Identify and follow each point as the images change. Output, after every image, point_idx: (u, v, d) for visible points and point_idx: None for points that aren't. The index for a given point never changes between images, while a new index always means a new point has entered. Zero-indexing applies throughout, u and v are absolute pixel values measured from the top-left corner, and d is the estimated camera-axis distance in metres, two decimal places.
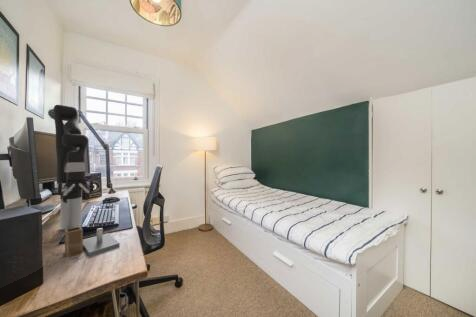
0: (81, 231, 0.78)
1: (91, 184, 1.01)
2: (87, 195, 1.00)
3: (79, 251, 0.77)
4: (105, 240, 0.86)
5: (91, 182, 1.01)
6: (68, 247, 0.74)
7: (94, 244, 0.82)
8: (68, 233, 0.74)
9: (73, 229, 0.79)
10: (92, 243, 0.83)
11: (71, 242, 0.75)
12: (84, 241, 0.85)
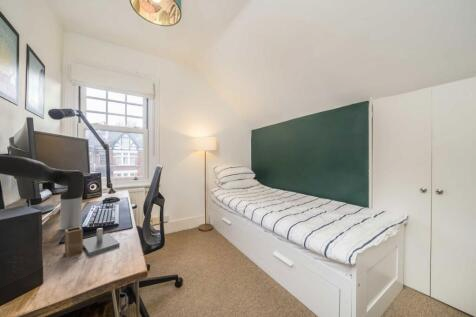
0: (81, 231, 0.78)
1: None
2: None
3: (79, 251, 0.77)
4: (105, 240, 0.86)
5: None
6: (68, 247, 0.74)
7: (94, 244, 0.82)
8: (68, 233, 0.74)
9: (73, 229, 0.79)
10: (92, 243, 0.83)
11: (71, 242, 0.75)
12: (84, 241, 0.85)
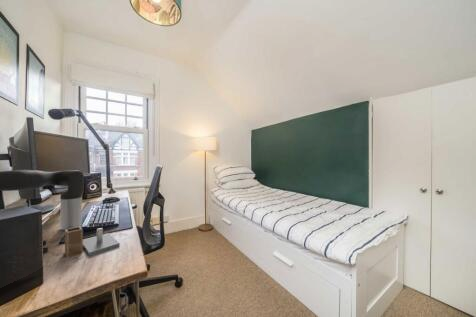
0: (81, 231, 0.78)
1: None
2: None
3: (79, 251, 0.77)
4: (105, 240, 0.86)
5: None
6: (68, 247, 0.74)
7: (94, 244, 0.82)
8: (68, 233, 0.74)
9: (73, 229, 0.79)
10: (92, 243, 0.83)
11: (71, 242, 0.75)
12: (84, 241, 0.85)
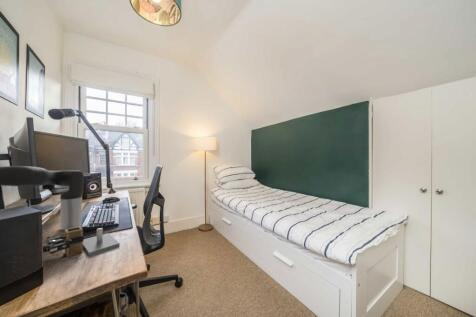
0: (81, 231, 0.78)
1: None
2: None
3: (79, 251, 0.77)
4: (105, 240, 0.86)
5: None
6: None
7: (94, 244, 0.82)
8: (68, 233, 0.74)
9: (73, 229, 0.79)
10: (92, 243, 0.83)
11: None
12: (84, 241, 0.85)
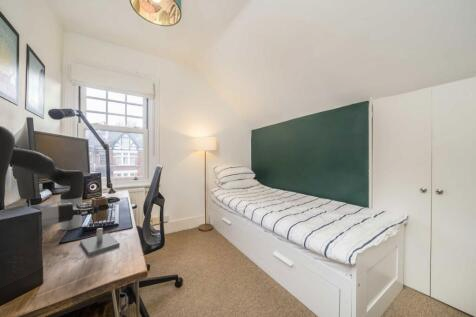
0: (106, 200, 0.84)
1: None
2: None
3: (104, 218, 0.84)
4: (105, 240, 0.86)
5: None
6: (95, 213, 0.81)
7: (94, 244, 0.82)
8: (95, 200, 0.81)
9: (98, 198, 0.86)
10: (92, 243, 0.83)
11: None
12: (84, 241, 0.85)
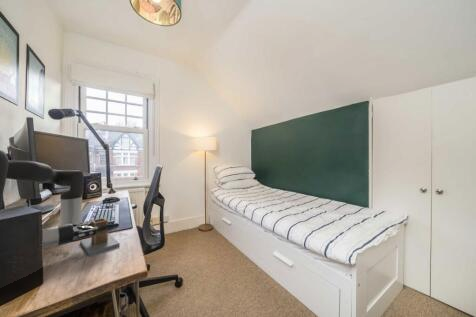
0: (106, 222, 0.84)
1: None
2: (100, 230, 0.81)
3: (104, 240, 0.84)
4: None
5: None
6: (95, 236, 0.81)
7: None
8: (95, 223, 0.81)
9: (98, 220, 0.86)
10: (92, 243, 0.83)
11: (98, 232, 0.82)
12: (84, 241, 0.85)
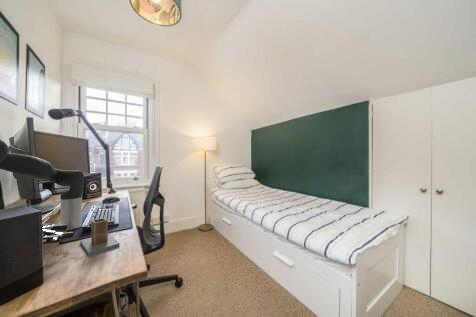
0: (106, 222, 0.84)
1: None
2: (64, 238, 0.74)
3: (104, 240, 0.84)
4: None
5: None
6: (95, 236, 0.81)
7: None
8: (95, 223, 0.81)
9: (98, 220, 0.86)
10: (92, 243, 0.83)
11: (98, 232, 0.82)
12: (84, 241, 0.85)
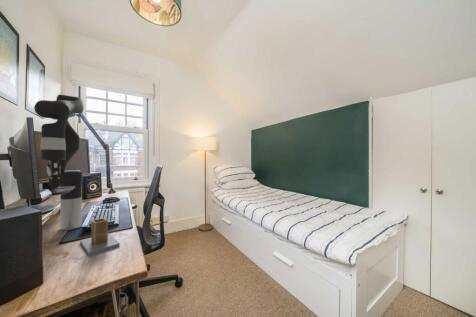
0: (106, 222, 0.84)
1: (51, 167, 0.72)
2: (51, 182, 0.74)
3: (104, 240, 0.84)
4: None
5: (51, 165, 0.72)
6: (95, 236, 0.81)
7: None
8: (95, 223, 0.81)
9: (98, 220, 0.86)
10: (92, 243, 0.83)
11: (98, 232, 0.82)
12: (84, 241, 0.85)
